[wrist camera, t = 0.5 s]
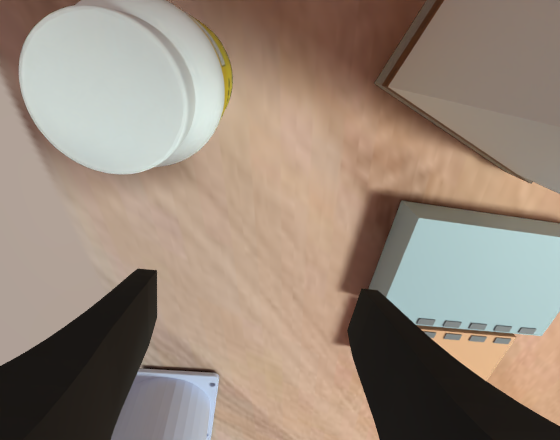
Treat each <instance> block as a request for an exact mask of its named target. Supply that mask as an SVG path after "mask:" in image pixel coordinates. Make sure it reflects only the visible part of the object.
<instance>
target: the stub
mask: <svg viewBox="0 0 560 440" xmlns="http://www.w3.org/2000/svg"><path fill="white" fill-rule="evenodd" d="M417 326H418V327H419V328H420V329H421V330H422V331H423V332H424V333H425V334H427V335H428V336H429V337H430V338H431V339H432V340H433V341H435V342H436V343H437V344H438V345H439V346H441V347H442V348H443V349H444V350H445V351H447V352H448V353H449V354H450V355H452V356H453V357H454V358H455V359H457V360H458V361H459V362H461V363H462V364H463V365H465V366H466V367H467V368H469V369H470V370H471V371H473V372H474V373H475V374H477V375H478V376H480V377H481V378H482V379H484V380H485V381H487V380H488V378H489V377H490V375H491V374H492V372H493V371H494V369H495V368H496V366H497V365H498V363H499V362H500V361H501V359H502V358H503V356H504V355H505V353H506V352H507V350H508V349H509V347H510V346H511V344H512V343H513V341H514V340H515V339H516V336H515V335H514V334H513V333H503V332H491V331H479V330H468V329H456V328H445V327H433V326H422V325H417Z"/></svg>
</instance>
